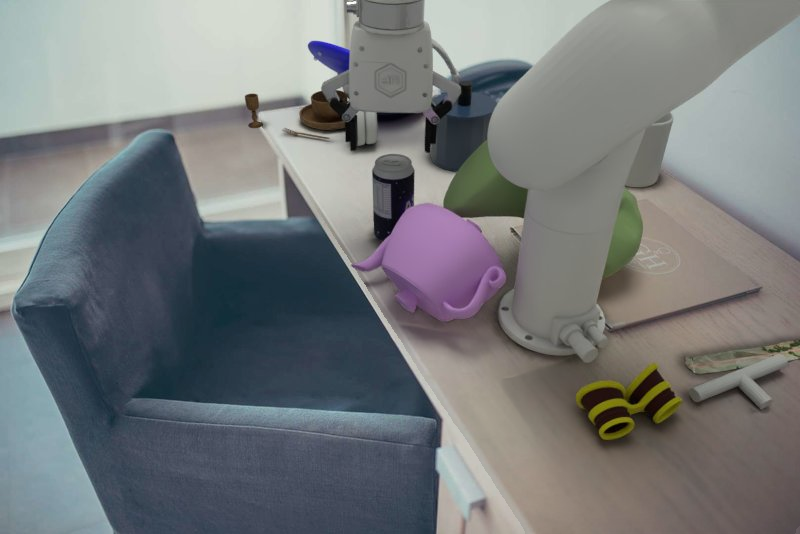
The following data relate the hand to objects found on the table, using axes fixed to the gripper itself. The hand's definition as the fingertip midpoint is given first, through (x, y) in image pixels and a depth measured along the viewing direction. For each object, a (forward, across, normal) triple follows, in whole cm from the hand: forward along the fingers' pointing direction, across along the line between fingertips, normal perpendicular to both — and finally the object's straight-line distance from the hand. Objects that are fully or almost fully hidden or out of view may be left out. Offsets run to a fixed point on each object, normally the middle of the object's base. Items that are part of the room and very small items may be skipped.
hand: (390, 147), depth 84 cm
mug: (+14, +38, +19) cm, 45 cm away
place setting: (+15, -17, +41) cm, 47 cm away
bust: (-4, +10, -7) cm, 13 cm away
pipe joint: (+12, +38, -27) cm, 48 cm away
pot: (+14, +12, +25) cm, 31 cm away
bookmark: (+13, +44, -24) cm, 52 cm away
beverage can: (+14, 0, 0) cm, 14 cm away
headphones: (+14, +2, +31) cm, 34 cm away
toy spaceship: (+6, -6, +46) cm, 47 cm away
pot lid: (+5, +11, +25) cm, 28 cm away
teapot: (+5, +9, -11) cm, 15 cm away
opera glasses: (+13, +25, -33) cm, 44 cm away
